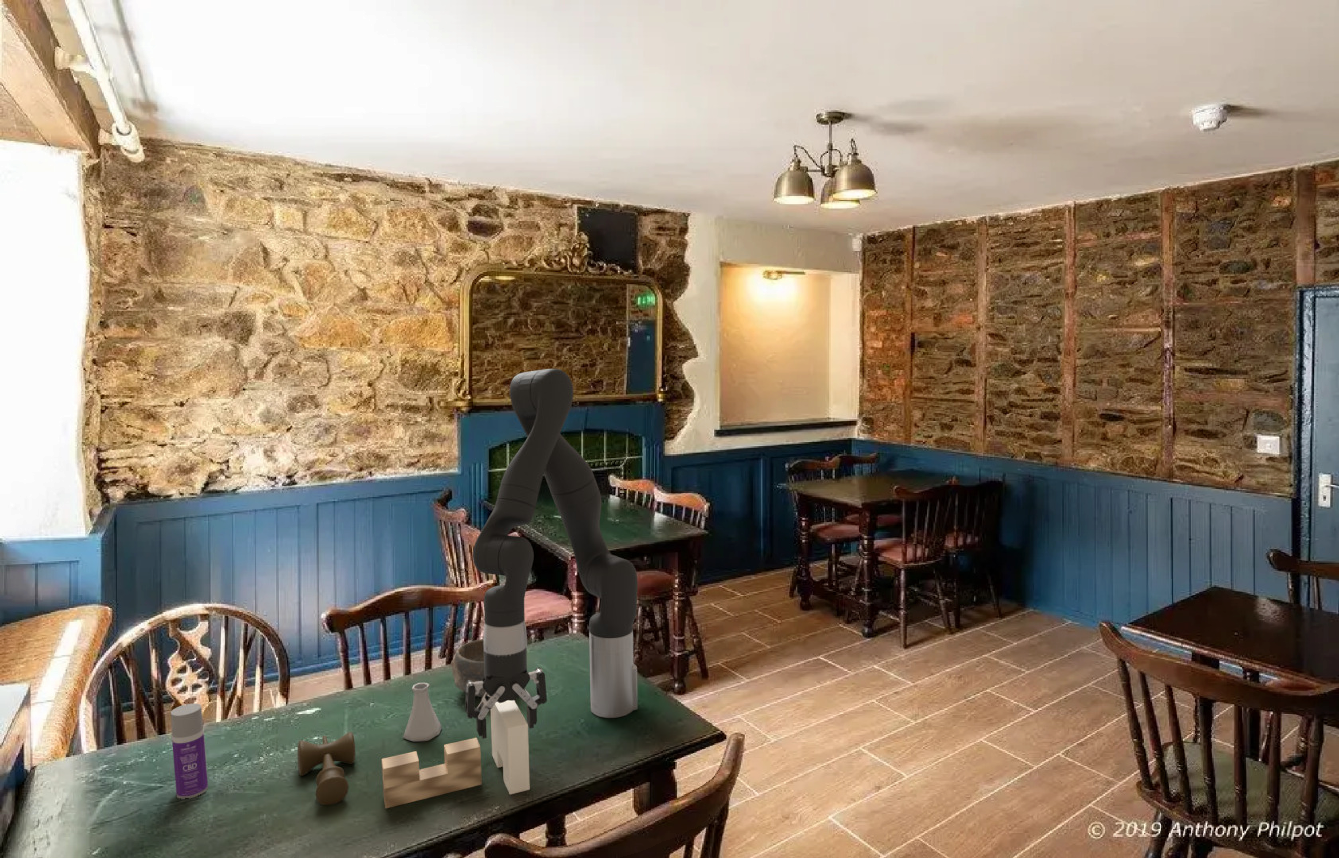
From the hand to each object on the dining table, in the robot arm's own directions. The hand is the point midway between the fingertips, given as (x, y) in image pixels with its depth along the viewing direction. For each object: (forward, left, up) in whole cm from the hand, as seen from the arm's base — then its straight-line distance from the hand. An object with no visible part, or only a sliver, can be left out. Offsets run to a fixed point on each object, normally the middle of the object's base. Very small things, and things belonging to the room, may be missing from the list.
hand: (507, 731), depth 136 cm
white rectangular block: (0, 0, -8) cm, 8 cm away
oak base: (+13, 0, -8) cm, 15 cm away
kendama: (+30, -13, -8) cm, 33 cm away
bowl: (-4, -34, -8) cm, 35 cm away
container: (+51, -18, -8) cm, 55 cm away
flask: (+12, -21, -8) cm, 26 cm away
